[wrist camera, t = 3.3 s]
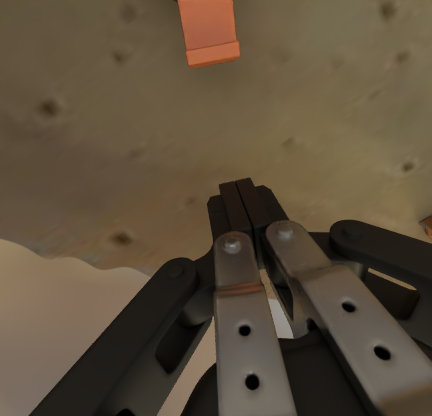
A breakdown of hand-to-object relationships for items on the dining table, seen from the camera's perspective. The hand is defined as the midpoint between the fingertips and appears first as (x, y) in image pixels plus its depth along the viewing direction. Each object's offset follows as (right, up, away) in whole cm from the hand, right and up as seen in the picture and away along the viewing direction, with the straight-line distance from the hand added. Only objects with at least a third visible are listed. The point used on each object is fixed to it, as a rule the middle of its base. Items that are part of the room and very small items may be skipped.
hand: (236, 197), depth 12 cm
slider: (-2, +12, +4) cm, 13 cm away
